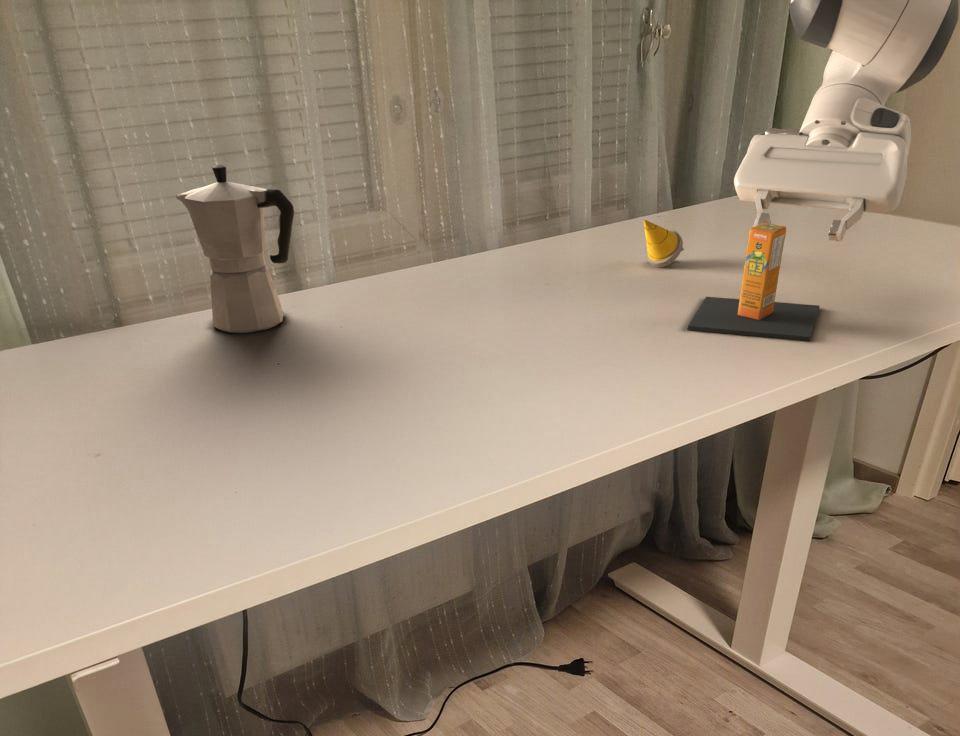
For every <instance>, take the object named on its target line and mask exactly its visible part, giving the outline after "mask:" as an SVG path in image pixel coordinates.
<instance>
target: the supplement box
mask: <svg viewBox="0 0 960 736" xmlns="http://www.w3.org/2000/svg"><path fill="white" fill-rule="evenodd" d="M786 233H787V226H786V225H778V224H772V223H770V224H768V223H762V224H760V225H757V226H755V227H753V226H752V227H751V228H749V234H748V240H747V247H746V254H745V260H744V261H745V262H744V268H743V275H742V281H741V286H740V287H741V288H740V295H739V299H740V301H739V308H738V315H739V316H743V317H748V318H752V319H756V320H761V319H763V318H765V317H767V316H769V315H770V314H772V313H773V308H774V302H776V296H777V295H776V293H777V289H778V283H779V277H780V269H781V262H782V256H783V251H784V247H785V246H784V245H785V239H786Z"/></svg>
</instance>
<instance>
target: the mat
mask: <svg viewBox="0 0 960 736" xmlns="http://www.w3.org/2000/svg"><path fill="white" fill-rule="evenodd" d="M739 301H740V298H729V297H728V298H727V297H717V296H705V298H704V299H703V300H702V303H701V304H700V305H699V307H698V309H697V310H696V312H695V314H694V315H693V317H692V319H691V320H690V322H689V323H688V325H687V331H696V332H706V333H715V334H728V335H738V336H751V337H761V338H770V339H771V338H773V339H783V340H793V341H805V342H810V341H811V338H812V335H813V331H814V327H815V324H816V321H817V318H818V314H819V310H820V305H819V304H806V303H805V304H804V303H793V302H780V301H775V302H774V308H773V313H772V314H770V315H769V316H767V317H765V318H763V319H761V320H756V319H752V318H748V317H743V316H739V315H738V308H739Z"/></svg>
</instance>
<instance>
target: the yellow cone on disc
mask: <svg viewBox="0 0 960 736" xmlns="http://www.w3.org/2000/svg"><path fill="white" fill-rule="evenodd" d="M643 226H644V227H643V228H644V234H645V241H646V248H645V252H644V253H645V258H646V260H647V262H649V264H650V265H651V266H652V267H655V268H664V267H667V266H669V265H670V264H672V263H673V262H675V260H677V259H678V257H679V256H680V254H681V253H682V252H683V251H684V250H685V248H684V241H683V238H682V236H681V235H680V233H679V232H678V231H677V230H675V229H671V228H670V229H669V228H668V229H667V228H665V227H662V226H660V225H657V224H656V223H654V222H651V221H649V220H647V219H643Z"/></svg>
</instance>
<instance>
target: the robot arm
mask: <svg viewBox="0 0 960 736" xmlns="http://www.w3.org/2000/svg"><path fill="white" fill-rule="evenodd" d="M788 9H789V16H790V19H791V23H792V26H793V29H794V32H795V34H796V36H797V38H798V39H799V40H801V41H803V42H806V43H809V44H812V45H815V46H818V47H819V48H824V49H829V50H832V51H831V53H830V55H829V57H828V60H827V63H826V65H825V67H824V70H823V77H822V83H821V85H820V86H819V88H818V89H817V91H816V92H815V93H814V95H813V97H812V100H811V102H810V104H809V107H808V109H807V112H806V113H805V114H806V115H805V117H804V120H803V121H802V124H801V127H800V128H776V127H769V128H766V129H765V131H761V132H758V133H757V134H755V135H753V137H752V138H751V140H750V143H749V144H748V147H747V151H746V154H745V155H744V157H743V159H742V161H741V163H740V164H739V167H738V169H737V171H736V173H735V175H734V178H733V184H734V185H733V186H734V189H735V192H736V195H737V197H738V198H739V200H740V201H741V202H748V203H749V202H750V203H755V209H756V213H757V214H756V216H755V219H754V220H753V221H754V222H753V224H752V225H753V226H752V228H753V227H755V226H757V225H760V224H762V223H768V224H772V221H771V218H770V217H771V215H770V213H768V212H764V210H768V209H769V207H770V204H771V205H783V206H794V207H804V208H815V209H817V208H818V209H826V210H827V209H828V210H838V211H847V213H846V214H845V215H844V216H843V217H841V219H840V220H839V219H833V220H832V223H831V227H830V228H829V230H828V240H829V241H833V242H842V241H843V239H844V237H845V234H846V233H847V231H848V230H850V228H852V227H853V226H854V225H855V224H856V223H858V222H859V221H860V220H861V219H862V217H863V215H864V213H873V214H882V215H888V214H890V213H892V212H893V211H895V210H896V209H897V208H898V207H899V205H900V202H901V199H902V197H903V193H904V189H905V187H906V182H907V176H908V157H909V155H910V149H911V143H912V129H911V128H912V127H911V126H912V125H911V121H910V117H909V116H908V115H907V114H905V113H903V112H901V111H898V110H895V109H892V108H889V107H887V106H886V102H887V101H888V99H889V97H890V96H891V94H893V93H894V94H898V93H900V92H903V91H905V90H907V89H908V88H911V87H912V86H914V85H916V84H917V83H919V82H921V81H922V80H924V79H925V78H926V77H928V75H930V74H931V72H932V71H933V70H934V69H935V68H936V66H937V65H938V64H939V62H940V61H941V59H942V57H943V55H944V54H945V52H946V49H947V47H948V45H949V43H950V41H951V39H952V36H953V34H954V31H955V30H956V29H955V28H956V27H957V25H958V21H959V12H960V11H959V9H960V8H959V0H789V3H788Z"/></svg>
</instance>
